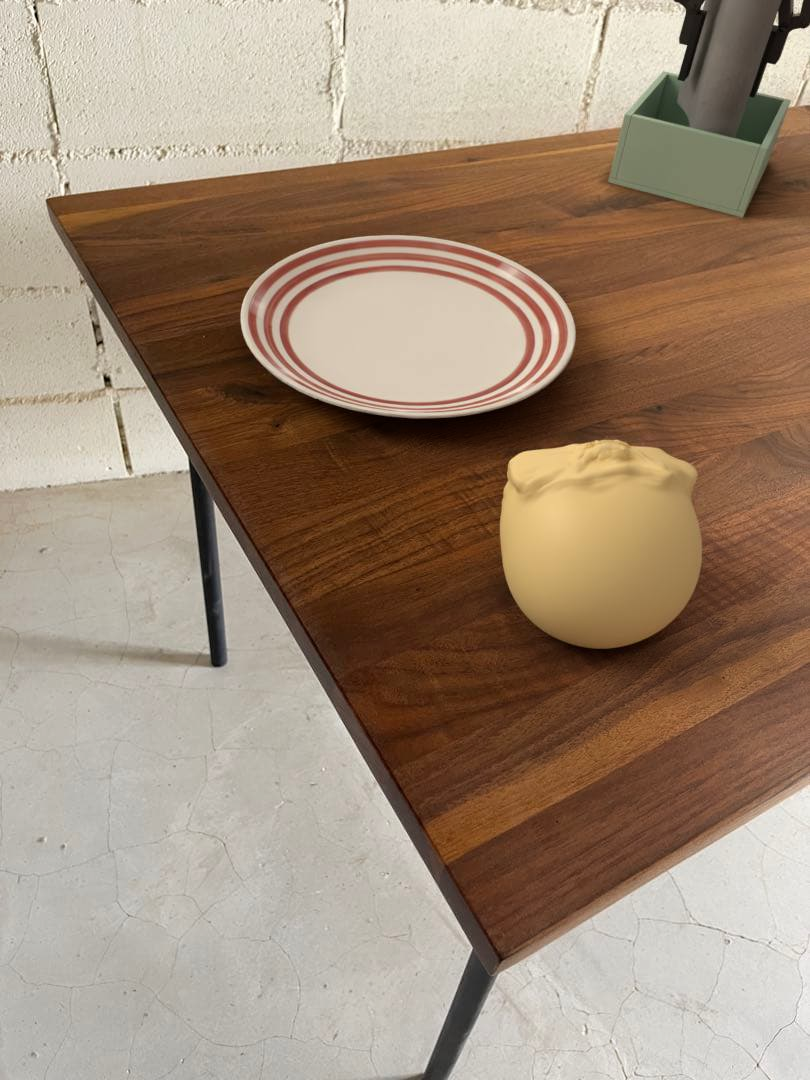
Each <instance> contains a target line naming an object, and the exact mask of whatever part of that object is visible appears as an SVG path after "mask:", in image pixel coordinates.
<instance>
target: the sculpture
mask: <svg viewBox="0 0 810 1080" xmlns="http://www.w3.org/2000/svg"><path fill="white" fill-rule="evenodd" d="M506 477H507V482H506V484H505V485H504V487H503V492H502V495H503V497H502V499H501V512H500V519H499V540H500V550H501V551H500V552H501V560H502V566H503V567H502V568H503V573H504V577H505V580H506V583H507V585H508V588H509V589H508V590H509V591H510V594H511V595H512V597H513V599H514V601H515V604H517V606H518V607H519V609H520V610H521V612H522V613H523V614H524V616H526V617H527V618H528V620H530V621H531V623H532V624H534V626H536V627H537V628H538V629H540V630H541V631H542V632H544V633H546V634H547V635H548V636H551V637H553V638H554V639H557V640H558V641H562V642H564V643H566V644H570V645H573V646H577V647H582V648H586V649H596V650H597V649H598V650H599V649H600V650H601V649H602V650H607V649H616V648H621V647H626V646H630V645H634V644H636V643H638V642H641V641H643V640H646V639H648V638H650V637H652V636H654V635H656V634H657V633H658V632H660V631H662V630H663V629H664V628H666V627H667V626H668V625H669V624H670V623H672V622H673V621H674V620H675V619H676V618H677V617H678V616H679V615H680V614H681V612H682V611H683V610H684V609H685V607H686V606H687V604H688V603H689V601H690V600H691V597H692V596H693V594H694V591H695V589H696V586H697V584H698V581H699V577H700V573H701V568H702V560H703V540H702V533H701V528H700V523H699V519H698V517H697V514H696V511H695V508H694V505H693V501H692V494H693V489H694V487H695V484H696V482H697V480H698V478H699V474H698V471H697V469H696V468H695V466H693V465H692V464H691V463H690V462H687V461H685V460H683V459H679V458H676V457H674V456H671V455H670V454H669V453H667V452H666V451H664V450H663V449H661V448H659V447H655V446H654V447H653V446H652V447H651V446H638V445H637V446H635V445H630V444H629V443H628V442H626V441H623V440H622V441H621V440H620V439H601V440H598V439H595V440H593V441H588V442H584V443H571V444H567V445H564V446H560V447H552V448H551V447H550V448H541V449H533V450H531V449H530V450H526V451H522V452H520V453H518V454H517V455H515V456H514V457H512V458H511V459H510V460H509V461H508V464H507V472H506Z"/></svg>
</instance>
